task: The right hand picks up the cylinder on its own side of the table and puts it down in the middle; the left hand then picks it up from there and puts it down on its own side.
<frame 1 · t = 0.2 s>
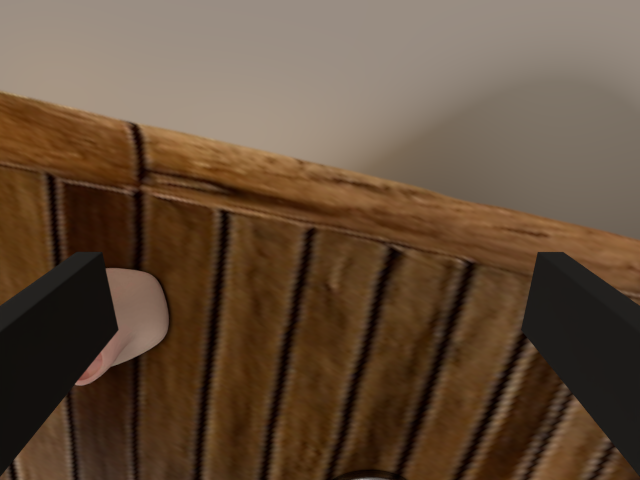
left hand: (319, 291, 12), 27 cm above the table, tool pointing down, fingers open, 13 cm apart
anatomical model: (115, 315, 45), on the table
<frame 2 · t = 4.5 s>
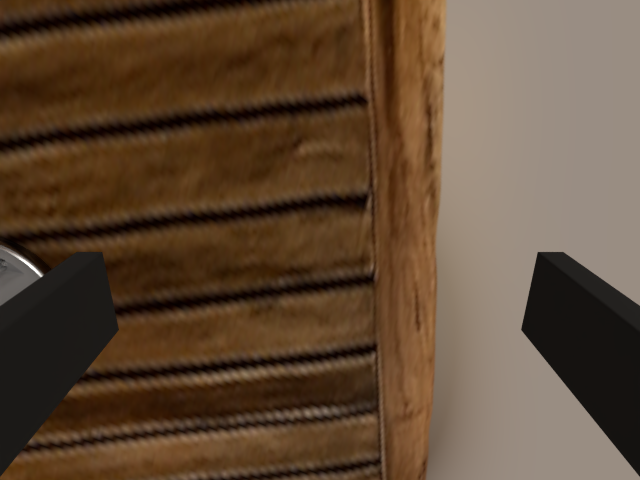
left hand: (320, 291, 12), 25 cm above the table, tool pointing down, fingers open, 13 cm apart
when the right hand's fingers open (5 cm above the table, at t = 10.8 s): cylinder drops 2 cm, on the table.
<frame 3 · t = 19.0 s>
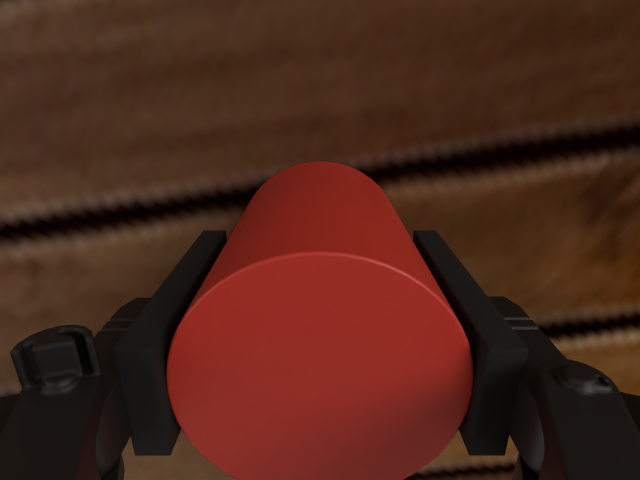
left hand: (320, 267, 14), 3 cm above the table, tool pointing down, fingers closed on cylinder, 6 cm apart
cylinder: (320, 238, 17), on the table, touching left hand
when the left hand's fingers open (5 cm above the table, at t = 25.7 s): cylinder drops 2 cm, on the table.
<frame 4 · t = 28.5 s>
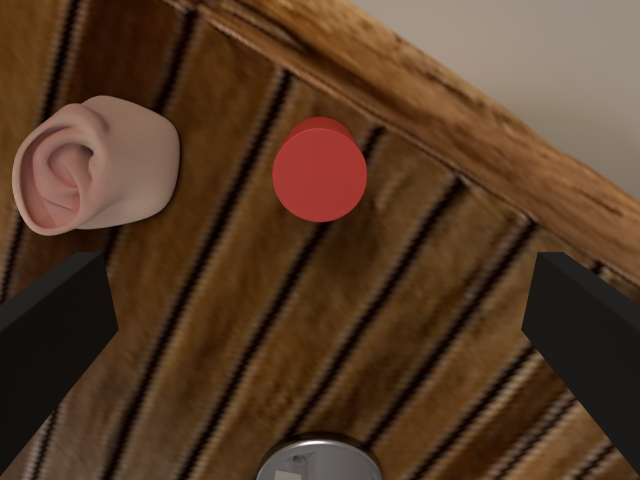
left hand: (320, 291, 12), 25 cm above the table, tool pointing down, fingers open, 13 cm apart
cylinder: (319, 154, 35), on the table
anatomical model: (109, 165, 36), on the table
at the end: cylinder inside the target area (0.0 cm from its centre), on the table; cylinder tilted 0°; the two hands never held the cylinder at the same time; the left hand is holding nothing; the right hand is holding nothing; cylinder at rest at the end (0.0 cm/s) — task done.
